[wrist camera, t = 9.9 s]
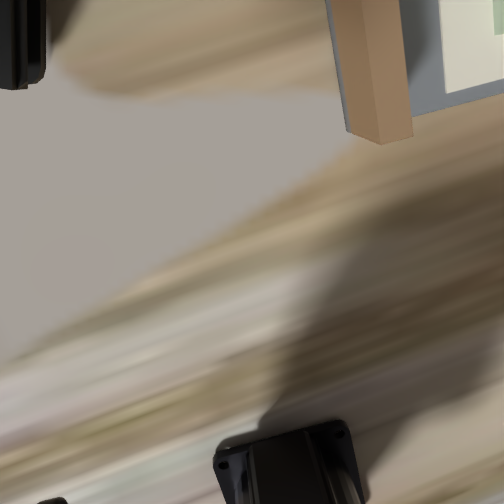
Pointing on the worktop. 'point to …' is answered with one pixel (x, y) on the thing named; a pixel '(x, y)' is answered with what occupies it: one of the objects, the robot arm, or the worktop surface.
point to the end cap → (22, 43)
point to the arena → (411, 60)
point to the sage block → (498, 16)
